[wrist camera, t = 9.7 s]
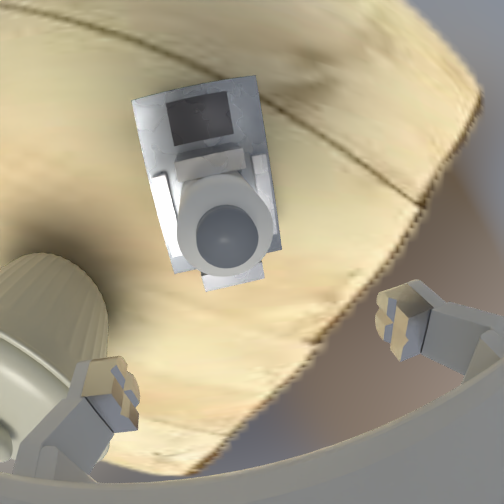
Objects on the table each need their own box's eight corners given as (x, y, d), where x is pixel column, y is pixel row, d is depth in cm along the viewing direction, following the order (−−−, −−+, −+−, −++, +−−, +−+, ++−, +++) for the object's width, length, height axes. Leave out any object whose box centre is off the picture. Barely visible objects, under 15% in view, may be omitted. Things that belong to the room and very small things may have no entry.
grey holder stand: (143, 104, 25) (115, 95, 15) (242, 83, 25) (272, 64, 16) (176, 245, 31) (172, 308, 21) (265, 225, 32) (301, 278, 22)
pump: (174, 171, 22) (163, 202, 14) (241, 156, 22) (270, 179, 14) (189, 233, 24) (189, 295, 16) (252, 219, 25) (284, 273, 17)
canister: (13, 194, 25) (-129, 301, 6) (158, 273, 31) (139, 463, 13) (-12, 317, 29) (-81, 438, 10) (103, 378, 36) (83, 523, 17)
